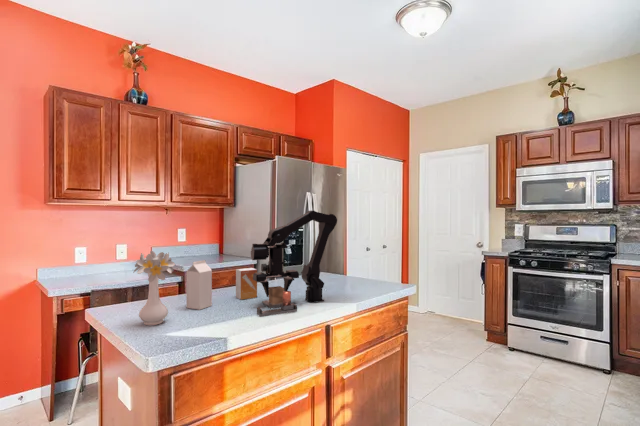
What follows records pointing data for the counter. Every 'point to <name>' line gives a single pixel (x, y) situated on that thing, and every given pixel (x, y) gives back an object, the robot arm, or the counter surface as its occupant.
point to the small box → (246, 283)
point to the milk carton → (199, 286)
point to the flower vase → (154, 286)
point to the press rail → (275, 311)
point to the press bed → (271, 304)
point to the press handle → (286, 301)
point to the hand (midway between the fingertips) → (276, 296)
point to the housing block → (276, 294)
